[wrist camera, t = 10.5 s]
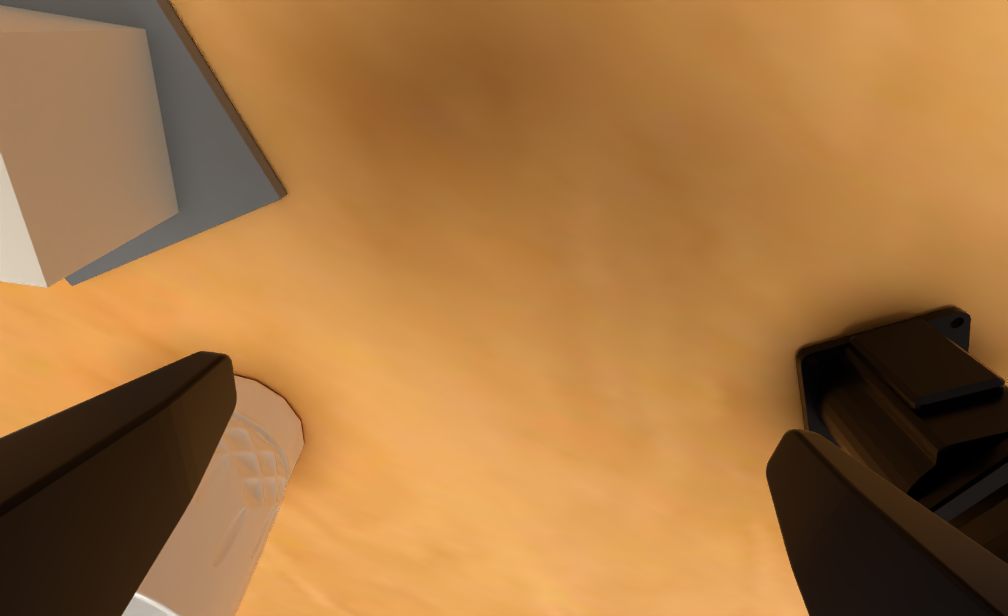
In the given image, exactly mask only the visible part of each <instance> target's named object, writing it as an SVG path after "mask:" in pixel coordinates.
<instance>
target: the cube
mask: <svg viewBox="0 0 1008 616" xmlns="http://www.w3.org/2000/svg"><path fill="white" fill-rule="evenodd" d="M177 213H179V210H178V204H177V199H176V194H175V188H174V183H173V177H172V172H171V166H170V161H169V155H168V150H167V144H166V139H165V133H164V128H163V122H162V117H161V111H160V106H159V100H158V95H157V89H156V84H155V79H154V73H153V68H152V62H151V57H150V51H149V46H148V40H147V35H146V29H142V28H136V27H130V26H124V25H118V24H112V23H106V22H100V21H94V20H88V19H82V18H75V17H69V16H63V15H57V14H51V13H45V12H39V11H33V10H27V9H21V8H15V7H9V6H3V5H0V281H3V282H10V283H17V284H25V285H32V286H40V287H47V288H48V287H49V286H51V285H53V284H55V283H56V282H58V281H60V280H62V279H63V278H65V277H67V276H69V275H70V274H72V273H74V272H76V271H77V270H79V269H81V268H83V267H84V266H86V265H88V264H90V263H91V262H93V261H95V260H97V259H98V258H100V257H102V256H104V255H105V254H107V253H109V252H111V251H112V250H114V249H116V248H118V247H119V246H121V245H123V244H125V243H126V242H128V241H130V240H132V239H133V238H135V237H137V236H139V235H140V234H142V233H144V232H146V231H147V230H149V229H151V228H153V227H154V226H156V225H158V224H160V223H161V222H163V221H165V220H167V219H168V218H170V217H172V216H174V215H175V214H177Z"/></svg>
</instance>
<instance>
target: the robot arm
mask: <svg viewBox="0 0 1008 616" xmlns="http://www.w3.org/2000/svg"><path fill="white" fill-rule="evenodd" d="M953 319H955V320H953ZM952 320H953V321H952ZM951 321H952V322H951ZM970 322H971V318H970V315H969V314H968V313H966V312H965V311H963V310H962V309H960V308H956V307H953V308H948V309H944V310H941V311H937V312H933V313H930V314H926V315H923V316H919V317H915V318H912V319H908V320H905V321H901V322H897V323H894V324H890V325H887V326H883V327H879V328H876V329H872V330H868V331H865V332H861V333H858V334H854V335H850V336H847V337H843V338H840V339H836V340H832V341H829V342H825V343H822V344H818V345H814V346H811V347H807V348H805V349H803V350H801V351H800V352H799V353H798V355H797V358H796V362H797V370H798V377H799V385H800V393H801V401H802V408H803V416H804V424H805V430H798V429H791V430H789V431H787V432H786V433H785V434H784V436H783V437H782V439H781V441H780V442H779V444H778V446H777V448H776V449H775V451H774V453H773V454H772V456H771V458H770V459H769V461H768V463H767V467H766V477H767V481H768V485H769V489H770V492H771V496H772V500H773V503H774V507H775V511H776V514H777V518H778V522H779V525H780V529H781V533H782V536H783V540H784V544H785V547H786V551H787V554H788V558H789V561H790V564H791V568H792V570H793V573H794V576H795V579H796V582H797V585H798V587H799V590H800V592H801V595H802V598H803V600H804V603H805V606H806V608H807V611H808V613H809V616H1008V387H1007V386H1006V385H1005V381H1004V379H1003V378H1002V377H1000V376H999V375H997V374H996V373H995V372H993V371H992V370H991V369H989V368H988V367H987V366H985V365H984V364H983V363H981V362H980V361H978V360H977V359H976V358H974V357H973V356H972V355H970V354H969V353H968V348H969V335H970ZM812 357H814V358H813V359H812V360H810V361H808V360H809V359H810V358H812ZM236 402H237V391H236V385H235V378H234V372H233V365H232V361H231V359H230V357H229V356H228V355H226V354H222V353H214V352H207V351H200V352H197V353H194V354H192V355H190V356H187V357H185V358H183V359H180V360H178V361H176V362H174V363H171V364H169V365H167V366H164V367H162V368H160V369H158V370H155V371H153V372H151V373H148V374H146V375H144V376H141V377H139V378H137V379H135V380H132V381H130V382H128V383H125V384H123V385H121V386H119V387H116V388H114V389H112V390H109V391H107V392H105V393H103V394H100V395H98V396H96V397H93V398H91V399H89V400H86V401H84V402H82V403H80V404H77V405H75V406H73V407H70V408H68V409H66V410H63V411H61V412H59V413H57V414H54V415H52V416H50V417H47V418H45V419H43V420H41V421H38V422H36V423H34V424H31V425H29V426H27V427H24V428H22V429H20V430H18V431H15V432H13V433H11V434H8V435H6V436H4V437H2V438H0V616H122V614H123V613H124V611H125V609H126V608H127V606H128V605H129V603H130V601H131V600H132V598H133V596H134V595H135V593H136V591H137V590H138V588H139V586H140V585H141V583H142V582H143V580H144V578H145V577H146V575H147V573H148V572H149V570H150V568H151V567H152V565H153V563H154V562H155V560H156V559H157V557H158V555H159V554H160V552H161V550H162V549H163V547H164V545H165V544H166V542H167V540H168V539H169V537H170V536H171V534H172V532H173V531H174V529H175V527H176V526H177V524H178V522H179V521H180V519H181V517H182V516H183V514H184V512H185V511H186V509H187V507H188V505H189V504H190V502H191V500H192V499H193V497H194V495H195V493H196V491H197V489H198V487H199V485H200V483H201V480H202V478H203V476H204V474H205V472H206V470H207V468H208V466H209V463H210V461H211V459H212V457H213V455H214V453H215V451H216V448H217V446H218V444H219V442H220V440H221V438H222V436H223V434H224V431H225V429H226V427H227V425H228V423H229V421H230V419H231V416H232V414H233V412H234V410H235V407H236Z"/></svg>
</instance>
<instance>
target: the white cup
mask: <svg viewBox="0 0 1008 616" xmlns="http://www.w3.org/2000/svg"><path fill="white" fill-rule="evenodd" d="M234 378H235V385H236V391H237V402H236V407H235V410H234V412H233V414H232V416H231V419H230V421H229V423H228V425H227V427H226V429H225V431H224V434H223V436H222V438H221V440H220V442H219V444H218V446H217V448H216V451H215V453H214V455H213V457H212V459H211V461H210V463H209V466H208V468H207V470H206V472H205V474H204V476H203V478H202V480H201V483H200V485H199V487H198V489H197V491H196V493H195V495H194V497H193V499H192V500H191V502H190V504H189V505H188V507H187V509H186V511H185V512H184V514H183V516H182V517H181V519H180V521H179V522H178V524H177V526H176V527H175V529H174V531H173V532H172V534H171V536H170V537H169V539H168V540H167V542H166V544H165V545H164V547H163V549H162V550H161V552H160V554H159V555H158V557H157V559H156V560H155V562H154V563H153V565H152V567H151V568H150V570H149V572H148V573H147V575H146V577H145V578H144V580H143V582H142V583H141V585H140V586H139V588H138V590H137V591H136V593H135V595H134V596H133V598H132V600H131V601H130V603H129V605H128V606H127V608H126V609H125V611H124V613H123V614H122V616H235V615H236V613H237V611H238V608H239V606H240V604H241V601H242V599H243V597H244V594H245V592H246V590H247V587H248V585H249V583H250V580H251V578H252V576H253V573H254V571H255V569H256V566H257V564H258V562H259V559H260V557H261V555H262V552H263V550H264V547H265V544H266V541H267V538H268V536H269V533H270V531H271V529H272V527H273V524H274V522H275V520H276V517H277V514H278V512H279V509H280V506H281V503H282V502H283V499H284V492H285V488H286V486H287V484H288V481H289V479H290V476H291V474H292V472H293V469H294V467H295V465H296V463H297V460H298V458H299V456H300V454H301V451H302V449H303V446H304V439H303V433H302V426H301V421H300V419H299V418H298V417H297V415H296V414H295V413H294V411H293V410H292V409H291V407H290V406H289V405H288V403H287V402H286V401H285V399H284V398H282V397H281V396H279V395H278V394H276V393H274V392H273V391H271V390H270V389H268V388H267V387H265V386H263V385H262V384H260V383H259V382H257V381H255V380H251V379H247V378H243V377H239V376H235V375H234Z"/></svg>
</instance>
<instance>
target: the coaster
mask: <svg viewBox="0 0 1008 616" xmlns="http://www.w3.org/2000/svg"><path fill="white" fill-rule="evenodd" d="M0 5H3V6H9V7H15V8H21V9H27V10H33V11H39V12H45V13H51V14H57V15H63V16H69V17H75V18H82V19H88V20H94V21H100V22H106V23H112V24H118V25H124V26H130V27H136V28H142V29H146V35H147V40H148V46H149V51H150V57H151V62H152V68H153V73H154V79H155V84H156V89H157V95H158V100H159V106H160V111H161V117H162V122H163V128H164V133H165V139H166V144H167V150H168V155H169V161H170V166H171V172H172V177H173V183H174V188H175V194H176V199H177V204H178V210H179V213H177V214H175V215H174V216H172V217H170V218H168V219H167V220H165V221H163V222H161V223H160V224H158V225H156V226H154V227H153V228H151V229H149V230H147V231H146V232H144V233H142V234H140V235H139V236H137V237H135V238H133V239H132V240H130V241H128V242H126V243H125V244H123V245H121V246H119V247H118V248H116V249H114V250H112V251H111V252H109V253H107V254H105V255H104V256H102V257H100V258H98V259H97V260H95V261H93V262H91V263H90V264H88V265H86V266H84V267H83V268H81V269H79V270H77V271H76V272H74V273H72V274H70V275H69V276H67V277H65V279H66V280H67V281H68V282H69V283H70V284H71V285H72V286H73V285H76V284H78V283H80V282H83V281H85V280H88V279H90V278H92V277H95V276H97V275H100V274H102V273H104V272H107V271H109V270H112V269H114V268H116V267H119V266H121V265H124V264H126V263H128V262H131V261H133V260H136V259H138V258H140V257H143V256H145V255H148V254H150V253H152V252H155V251H157V250H160V249H162V248H164V247H167V246H169V245H172V244H174V243H176V242H179V241H181V240H184V239H186V238H188V237H191V236H193V235H196V234H198V233H200V232H203V231H205V230H208V229H210V228H212V227H215V226H217V225H220V224H222V223H224V222H227V221H229V220H232V219H234V218H236V217H239V216H241V215H244V214H246V213H248V212H251V211H253V210H256V209H258V208H260V207H263V206H265V205H268V204H270V203H272V202H275V201H277V200H280V199H281V198H283V197H284V196H285V195H287V193H286V192H285V190H284V188H283V187H282V185H281V183H280V182H279V180H278V179H277V177H276V175H275V174H274V172H273V170H272V169H271V167H270V166H269V164H268V162H267V161H266V159H265V157H264V156H263V154H262V153H261V151H260V149H259V148H258V146H257V144H256V143H255V141H254V140H253V138H252V136H251V135H250V133H249V132H248V130H247V128H246V127H245V125H244V123H243V122H242V120H241V119H240V117H239V115H238V114H237V112H236V110H235V109H234V107H233V106H232V104H231V102H230V101H229V99H228V97H227V96H226V94H225V93H224V91H223V89H222V88H221V86H220V84H219V83H218V81H217V80H216V78H215V76H214V75H213V73H212V72H211V70H210V68H209V67H208V65H207V63H206V62H205V60H204V59H203V57H202V55H201V54H200V52H199V50H198V49H197V47H196V46H195V44H194V42H193V41H192V39H191V37H190V36H189V34H188V33H187V31H186V29H185V28H184V26H183V25H182V23H181V21H180V20H179V18H178V16H177V15H176V13H175V12H174V10H173V8H172V7H171V5H170V3H169V2H168V0H0Z"/></svg>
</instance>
